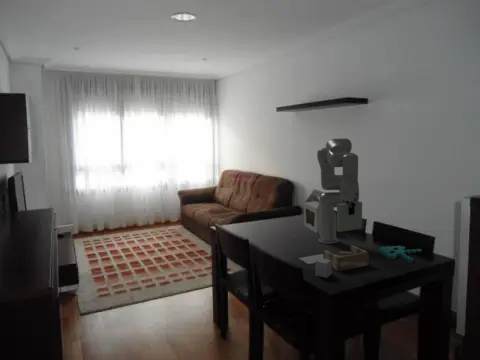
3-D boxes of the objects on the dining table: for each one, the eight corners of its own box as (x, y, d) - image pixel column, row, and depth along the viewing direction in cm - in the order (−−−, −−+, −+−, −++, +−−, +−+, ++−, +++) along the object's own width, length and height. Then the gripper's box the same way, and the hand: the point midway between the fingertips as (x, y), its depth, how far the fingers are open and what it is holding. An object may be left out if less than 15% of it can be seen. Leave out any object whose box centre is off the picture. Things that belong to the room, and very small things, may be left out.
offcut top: (339, 254, 199) (339, 251, 198) (351, 255, 197) (351, 252, 196) (339, 256, 196) (339, 252, 196) (351, 257, 194) (351, 253, 194)
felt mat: (298, 258, 206) (298, 258, 206) (322, 254, 212) (322, 253, 212) (308, 264, 197) (308, 263, 197) (333, 259, 203) (333, 259, 203)
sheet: (336, 230, 190) (336, 204, 188) (358, 227, 195) (359, 201, 193) (339, 231, 188) (339, 205, 186) (361, 228, 193) (362, 202, 191)
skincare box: (331, 274, 183) (331, 260, 182) (326, 278, 178) (326, 263, 177) (320, 271, 187) (320, 257, 186) (315, 275, 182) (315, 261, 181)
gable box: (304, 225, 277) (303, 188, 274) (320, 224, 280) (320, 187, 277) (316, 233, 256) (316, 193, 252) (334, 231, 259) (334, 192, 255)
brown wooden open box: (323, 262, 199) (323, 250, 198) (352, 257, 206) (352, 245, 205) (338, 271, 187) (338, 257, 186) (368, 265, 194) (368, 252, 193)
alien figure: (421, 253, 211) (385, 247, 223) (421, 249, 210) (385, 243, 223) (411, 263, 195) (374, 256, 208) (412, 259, 195) (374, 252, 208)
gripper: (334, 177, 194) (334, 211, 196) (354, 181, 179) (353, 218, 182) (346, 176, 196) (345, 209, 199) (367, 180, 182) (366, 216, 184)
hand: (349, 213), depth 190 cm, fingers closed on sheet, 2 cm apart
